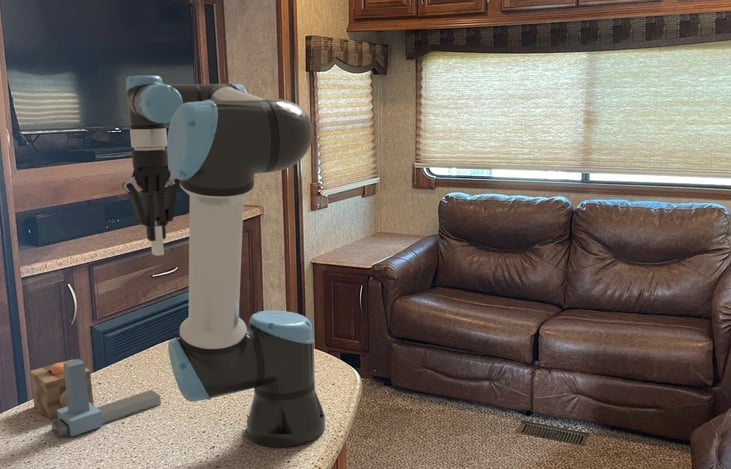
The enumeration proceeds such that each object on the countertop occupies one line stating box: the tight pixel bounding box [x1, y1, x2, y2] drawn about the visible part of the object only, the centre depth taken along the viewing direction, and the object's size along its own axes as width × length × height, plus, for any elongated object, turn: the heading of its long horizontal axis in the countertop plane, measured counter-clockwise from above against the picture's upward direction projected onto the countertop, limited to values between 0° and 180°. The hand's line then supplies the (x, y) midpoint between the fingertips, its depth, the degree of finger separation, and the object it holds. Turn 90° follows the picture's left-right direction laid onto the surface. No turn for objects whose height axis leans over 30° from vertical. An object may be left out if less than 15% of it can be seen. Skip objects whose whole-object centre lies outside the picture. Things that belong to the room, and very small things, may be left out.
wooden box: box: [29, 359, 95, 421], centre depth 146 cm, size 10×9×8 cm
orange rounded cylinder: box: [51, 361, 65, 376], centre depth 145 cm, size 3×3×3 cm
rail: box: [51, 389, 162, 440], centre depth 141 cm, size 4×21×2 cm, turn 134°
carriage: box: [57, 358, 104, 437], centre depth 136 cm, size 7×6×13 cm
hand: (158, 254), depth 155 cm, fingers closed
